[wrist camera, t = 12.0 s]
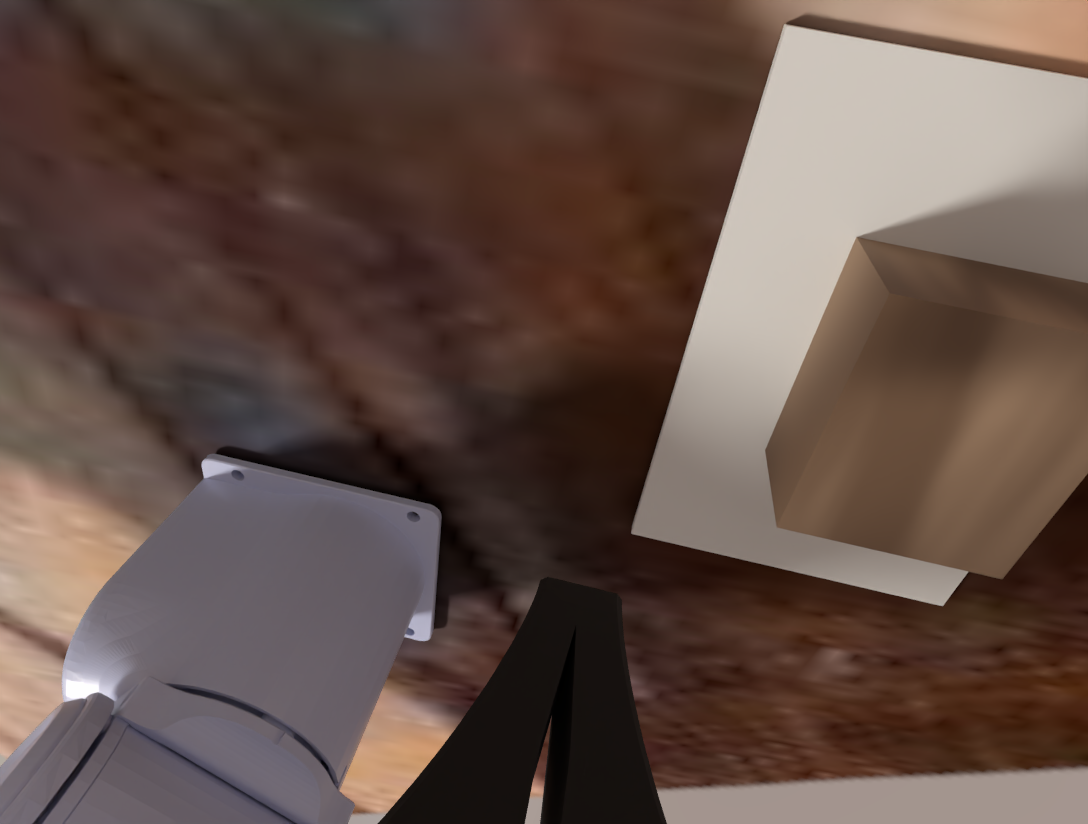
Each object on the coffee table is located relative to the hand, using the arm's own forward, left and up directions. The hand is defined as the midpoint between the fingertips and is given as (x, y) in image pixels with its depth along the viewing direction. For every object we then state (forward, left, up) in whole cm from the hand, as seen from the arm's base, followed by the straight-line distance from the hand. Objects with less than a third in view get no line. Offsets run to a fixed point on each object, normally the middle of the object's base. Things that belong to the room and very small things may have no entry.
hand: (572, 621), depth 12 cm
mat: (+7, +1, -10) cm, 13 cm away
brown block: (+5, +1, -8) cm, 10 cm away
